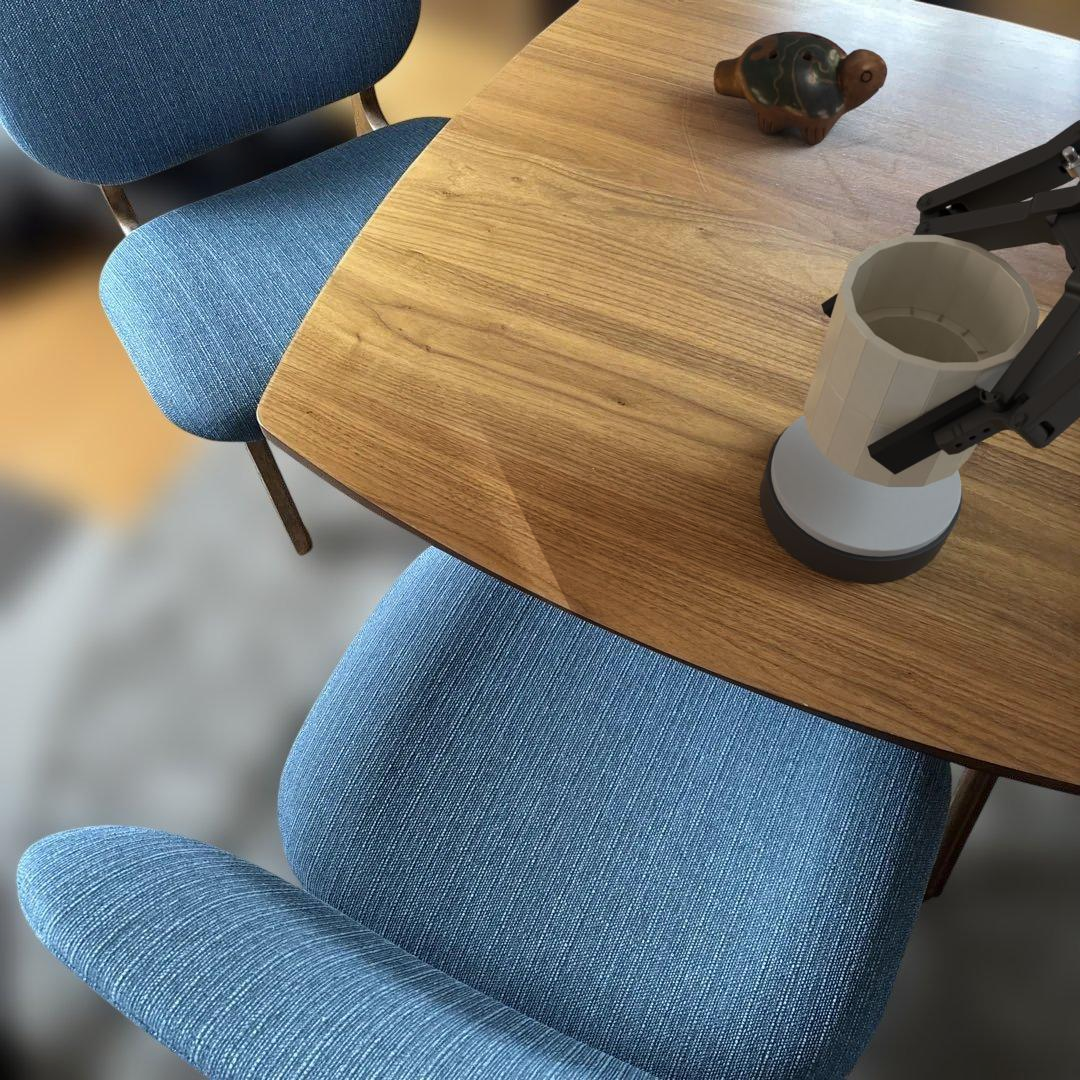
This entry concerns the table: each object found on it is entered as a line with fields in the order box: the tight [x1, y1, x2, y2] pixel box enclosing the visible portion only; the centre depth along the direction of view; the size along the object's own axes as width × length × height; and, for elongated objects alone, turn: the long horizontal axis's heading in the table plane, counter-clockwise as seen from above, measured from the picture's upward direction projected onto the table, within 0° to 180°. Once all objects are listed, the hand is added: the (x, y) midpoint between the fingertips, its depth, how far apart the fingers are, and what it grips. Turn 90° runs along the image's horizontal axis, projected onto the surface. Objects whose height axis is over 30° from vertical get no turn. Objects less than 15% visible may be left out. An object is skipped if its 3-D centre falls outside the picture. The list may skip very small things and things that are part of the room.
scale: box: [759, 414, 963, 584], centre depth 70 cm, size 13×13×4 cm
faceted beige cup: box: [803, 234, 1041, 487], centre depth 61 cm, size 10×10×11 cm
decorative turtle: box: [713, 30, 888, 146], centre depth 93 cm, size 10×15×8 cm, turn 74°
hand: (856, 386), depth 61 cm, fingers closed on faceted beige cup, 11 cm apart
